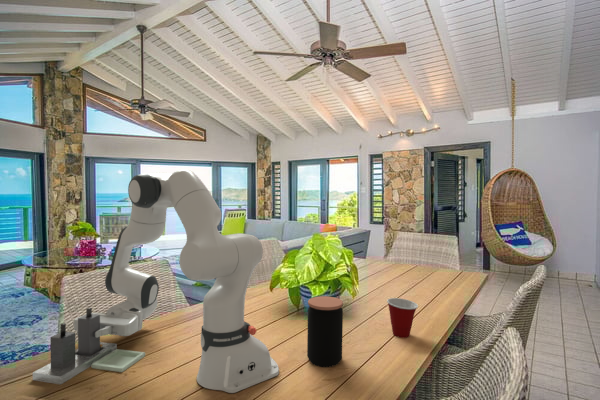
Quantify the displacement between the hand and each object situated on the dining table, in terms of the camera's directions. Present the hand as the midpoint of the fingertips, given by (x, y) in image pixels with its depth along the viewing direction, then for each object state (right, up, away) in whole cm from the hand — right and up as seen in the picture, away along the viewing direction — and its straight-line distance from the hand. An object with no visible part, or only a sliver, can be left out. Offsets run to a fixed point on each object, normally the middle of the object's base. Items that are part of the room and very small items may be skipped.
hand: (86, 334), depth 105 cm
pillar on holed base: (-1, -8, -3) cm, 9 cm away
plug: (0, -6, +1) cm, 6 cm away
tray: (+10, -8, -1) cm, 13 cm away
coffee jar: (+71, -9, +2) cm, 72 cm away
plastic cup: (+100, -9, +22) cm, 103 cm away
